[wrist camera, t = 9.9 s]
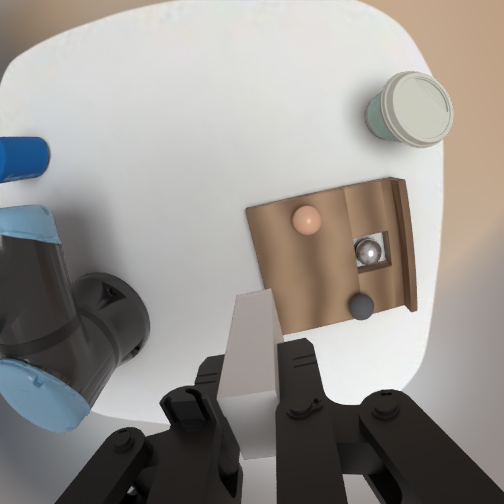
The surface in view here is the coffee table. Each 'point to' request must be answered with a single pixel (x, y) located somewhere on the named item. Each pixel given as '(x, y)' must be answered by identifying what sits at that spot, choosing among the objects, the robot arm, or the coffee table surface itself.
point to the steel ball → (368, 252)
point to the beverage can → (22, 158)
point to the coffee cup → (411, 110)
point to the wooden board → (335, 253)
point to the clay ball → (307, 220)
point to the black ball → (361, 307)
